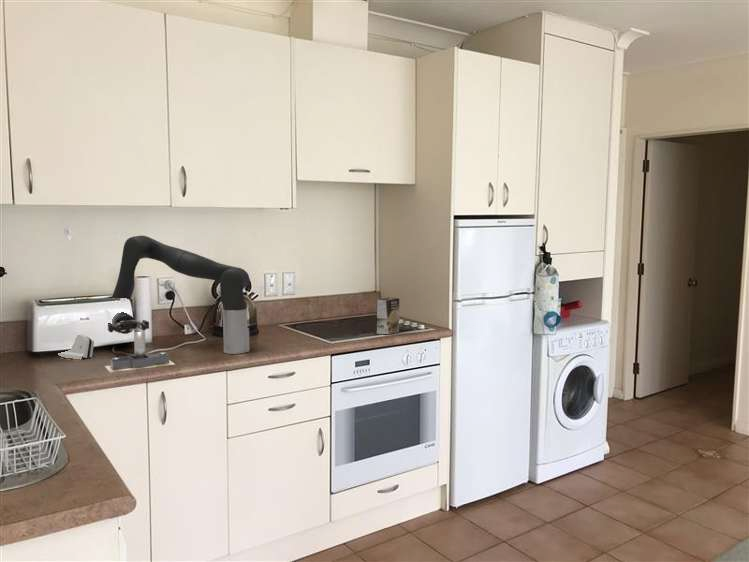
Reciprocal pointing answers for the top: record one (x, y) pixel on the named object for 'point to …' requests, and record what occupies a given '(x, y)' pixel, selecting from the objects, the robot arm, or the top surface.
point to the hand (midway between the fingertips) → (132, 328)
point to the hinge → (79, 348)
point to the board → (137, 368)
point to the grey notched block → (139, 361)
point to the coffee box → (387, 315)
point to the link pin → (139, 344)
